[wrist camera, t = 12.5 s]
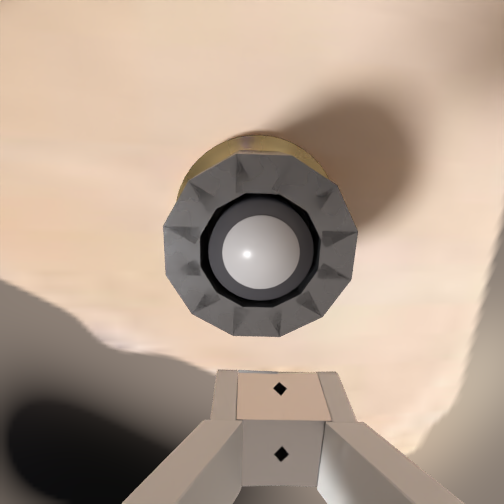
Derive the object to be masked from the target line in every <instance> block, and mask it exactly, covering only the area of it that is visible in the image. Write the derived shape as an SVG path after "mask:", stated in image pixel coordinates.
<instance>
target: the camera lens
mask: <svg viewBox="0 0 504 504" xmlns="http://www.w3.org/2000/svg"><path fill="white" fill-rule="evenodd" d="M208 254H209V261H210V265H211V268H212V271H213V273H214V274H215V276H216V278H217V279H218V280H219V282H220V283H221V284H222V285H223V286H224V287H225V288H226V289H228V290H229V291H230V292H232V293H234V294H235V295H238V296H240V297H243V298H246V299H250V300H270V299H275V298H278V297H281V296H283V295H285V294H287V293H289V292H290V291H292V290H293V289H295V288H296V287H297V286H298V285H299V284H300V283H301V282H302V281H303V279H304V278H305V276H306V275H307V273H308V271H309V269H310V267H311V263H312V259H313V240H312V236H311V233H310V231H309V229H308V227H307V225H306V224H305V222H304V221H303V219H302V218H301V216H300V215H299V214H298V212H297V211H296V209H295V208H294V207H293V206H292V205H291V204H290V203H289V202H288V201H287V200H286V199H284V198H283V197H281V196H279V195H277V194H264V193H245V194H243V195H241V196H239V197H237V198H235V199H234V200H232V201H230V202H229V203H228V204H227V205H226V206H225V207H224V208H223V210H222V211H221V213H220V215H219V216H218V219H217V221H216V224H215V226H214V229H213V232H212V234H211V237H210V241H209V249H208Z"/></svg>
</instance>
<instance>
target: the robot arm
mask: <svg viewBox="0 0 504 504" xmlns="http://www.w3.org/2000/svg"><path fill="white" fill-rule="evenodd" d="M272 485H275V486H276V485H280V486H305V487H317V490H318V491H319V492H320V494H321V495H322V497H323V498H324V499H325V501H326V502H327V504H465V503H463V502H462V501H461V500H460V499H458V498H457V497H456V496H455V495H453V494H452V493H451V492H450V491H449V490H447V489H446V488H445V487H444V486H442V485H441V484H440V483H439V482H437V481H436V480H435V479H434V478H432V477H431V476H430V475H428V474H427V473H426V472H425V471H424V470H422V469H421V468H420V467H419V466H417V465H416V464H415V463H414V462H413V461H411V460H410V459H409V458H408V457H406V456H405V455H404V454H403V453H401V452H400V451H399V450H398V449H396V448H395V447H394V446H393V445H391V444H390V443H389V442H388V441H386V440H385V439H384V438H383V437H382V436H380V435H379V434H378V433H377V432H375V431H374V430H373V429H372V428H370V427H369V426H368V425H367V424H365V423H364V422H357V419H356V417H355V415H354V412H353V410H352V407H351V405H350V402H349V400H348V397H347V395H346V392H345V390H344V387H343V385H342V382H341V380H340V377H339V375H338V373H336V372H316V373H315V372H273V371H249V370H238V371H237V370H218V371H217V373H216V381H215V388H214V396H213V404H212V411H211V418H210V420H203V421H202V422H201V423H200V424H199V426H197V427H196V429H195V430H194V431H192V433H191V434H190V435H189V436H188V437H187V438H186V439H185V440H184V441H183V442H182V443H181V444H180V445H179V446H178V447H177V448H176V449H175V450H174V451H173V452H172V453H171V454H170V455H169V456H168V457H167V458H166V459H165V460H164V461H163V462H162V463H161V464H160V465H159V466H158V467H157V468H156V469H155V470H154V471H153V472H152V473H151V474H150V475H149V476H148V477H147V478H146V479H145V480H144V482H142V483H141V484H140V485H139V486H138V487H137V488H136V489H135V490H134V491H133V492H132V493H131V494H130V496H129V497H128V498H127V499H126V500H125V501H124V502H123V503H122V504H233V502H234V500H235V499H236V497H237V495H238V493H239V492H240V490H241V486H272Z"/></svg>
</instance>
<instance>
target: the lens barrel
mask: <svg viewBox="0 0 504 504" xmlns="http://www.w3.org/2000/svg"><path fill="white" fill-rule="evenodd" d="M245 193H264V194H277V195H279V196H281V197H283V198H284V199H286V200H287V201H288V202H289V203H290V204H291V205H292V206H293V207H294V208H295V209H296V211H297V212H298V214H299V215H300V216H301V218H302V219H303V221H304V222H305V224H306V225H307V227H308V229H309V231H310V233H311V236H312V240H313V259H312V263H311V267H310V269H309V271H308V273H307V275H306V276H305V278H304V279H303V281H302V282H301V283H300V284H299V285H298V286H297V287H296V288H295V289H293V290H292V291H290V292H289V293H287V294H285V295H283V296H281V297H278V298H275V299H270V300H250V299H246V298H243V297H240V296H238V295H235V294H234V293H232V292H230V291H229V290H228V289H226V288H225V287H224V286H223V285H222V284H221V283H220V282H219V280H218V279H217V278H216V276H215V274H214V273H213V271H212V268H211V265H210V261H209V254H208V249H209V241H210V237H211V234H212V232H213V229H214V226H215V224H216V221H217V219H218V216H219V215H220V213H221V211H222V210H223V208H224V207H225V206H226V205H227V204H228V203H229V202H230V201H232V200H234V199H235V198H237V197H239V196H241V195H243V194H245ZM163 232H164V251H165V270H166V276H167V277H168V279H169V280H170V282H171V283H172V285H173V286H174V288H175V289H176V291H177V292H178V294H179V295H180V297H181V298H182V300H183V301H184V303H185V304H186V306H187V307H188V309H189V310H190V312H191V313H192V314H193V315H195V316H197V317H199V318H200V319H202V320H204V321H206V322H208V323H210V324H212V325H214V326H216V327H218V328H219V329H221V330H223V331H225V332H227V333H229V334H231V335H233V336H266V337H281V336H283V335H285V334H287V333H289V332H291V331H293V330H296V329H298V328H300V327H302V326H304V325H306V324H309V323H311V322H313V321H315V320H317V319H319V318H321V317H323V316H324V314H325V313H326V312H327V311H328V309H329V308H330V307H331V305H332V304H333V303H334V301H335V300H336V299H337V298H338V296H339V295H340V294H341V292H342V291H343V290H344V288H345V287H346V286H347V285H348V283H349V282H350V281H351V279H352V271H353V264H354V257H355V250H356V242H357V235H358V231H357V228H356V226H355V224H354V222H353V219H352V217H351V215H350V213H349V211H348V208H347V206H346V204H345V202H344V199H343V197H342V195H341V193H340V190H339V188H338V186H337V185H336V184H334V183H333V182H331V181H330V180H329V178H328V176H327V174H326V173H325V171H324V170H323V169H322V167H321V166H320V164H319V163H318V162H317V161H316V160H315V159H314V158H313V157H312V156H311V155H310V154H308V153H307V152H306V151H304V150H303V149H302V148H300V147H298V146H296V145H295V144H293V143H291V142H288V141H286V140H283V139H280V138H276V137H272V136H263V135H250V136H243V137H237V138H234V139H231V140H228V141H225V142H223V143H221V144H219V145H217V146H215V147H214V148H212V149H211V150H209V151H208V152H206V153H205V154H204V155H203V156H202V157H201V158H199V159H198V160H197V162H196V163H195V164H194V165H193V166H192V167H191V169H190V170H189V172H188V173H187V175H186V176H185V178H184V180H183V183H182V185H181V187H180V190H179V193H178V196H177V202H176V204H175V206H174V207H173V209H172V211H171V213H170V215H169V216H168V218H167V220H166V222H165V224H164V225H163Z"/></svg>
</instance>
